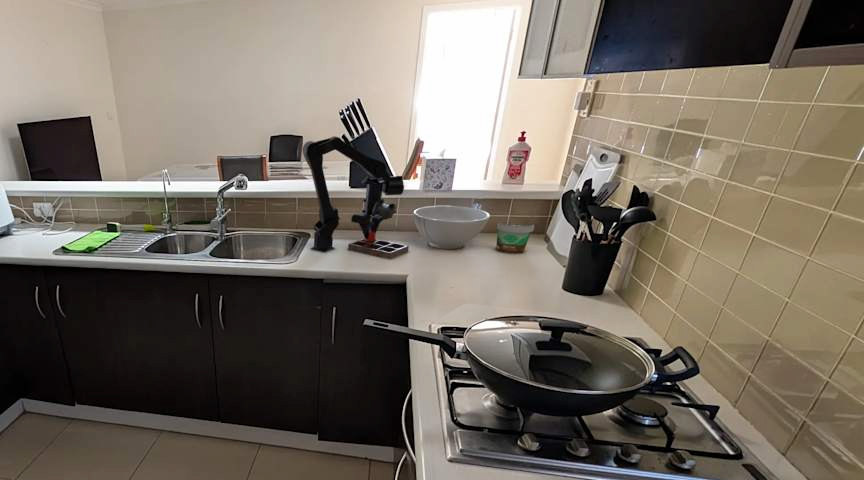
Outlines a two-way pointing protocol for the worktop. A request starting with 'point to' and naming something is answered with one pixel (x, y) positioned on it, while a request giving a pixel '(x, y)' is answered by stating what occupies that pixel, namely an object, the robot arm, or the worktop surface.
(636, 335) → the worktop surface
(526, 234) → the food container
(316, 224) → the robot arm
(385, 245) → the grid
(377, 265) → the worktop surface
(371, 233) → the red short cylinder
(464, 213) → the decorative bowl
